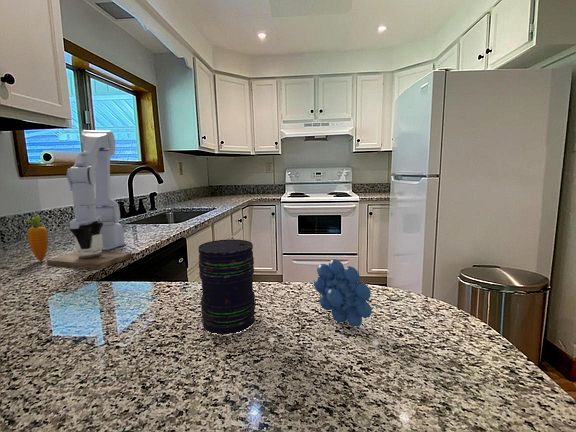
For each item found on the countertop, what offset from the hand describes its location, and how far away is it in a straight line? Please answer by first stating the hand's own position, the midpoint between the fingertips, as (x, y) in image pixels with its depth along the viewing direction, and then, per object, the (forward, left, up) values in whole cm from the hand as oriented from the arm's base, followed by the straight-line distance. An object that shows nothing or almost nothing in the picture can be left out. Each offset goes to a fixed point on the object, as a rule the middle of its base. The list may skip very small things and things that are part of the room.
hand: (89, 246), depth 97 cm
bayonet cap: (0, 0, -3) cm, 3 cm away
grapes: (+22, +82, -5) cm, 85 cm away
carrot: (+4, -16, -5) cm, 17 cm away
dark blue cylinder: (+26, +62, -5) cm, 67 cm away
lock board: (0, 0, -5) cm, 5 cm away
